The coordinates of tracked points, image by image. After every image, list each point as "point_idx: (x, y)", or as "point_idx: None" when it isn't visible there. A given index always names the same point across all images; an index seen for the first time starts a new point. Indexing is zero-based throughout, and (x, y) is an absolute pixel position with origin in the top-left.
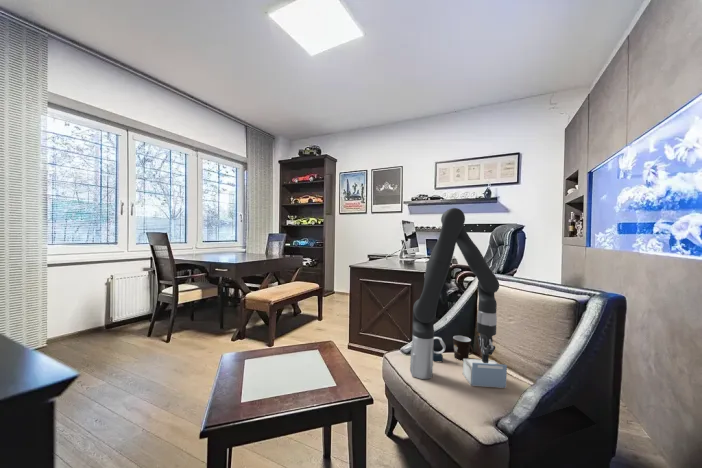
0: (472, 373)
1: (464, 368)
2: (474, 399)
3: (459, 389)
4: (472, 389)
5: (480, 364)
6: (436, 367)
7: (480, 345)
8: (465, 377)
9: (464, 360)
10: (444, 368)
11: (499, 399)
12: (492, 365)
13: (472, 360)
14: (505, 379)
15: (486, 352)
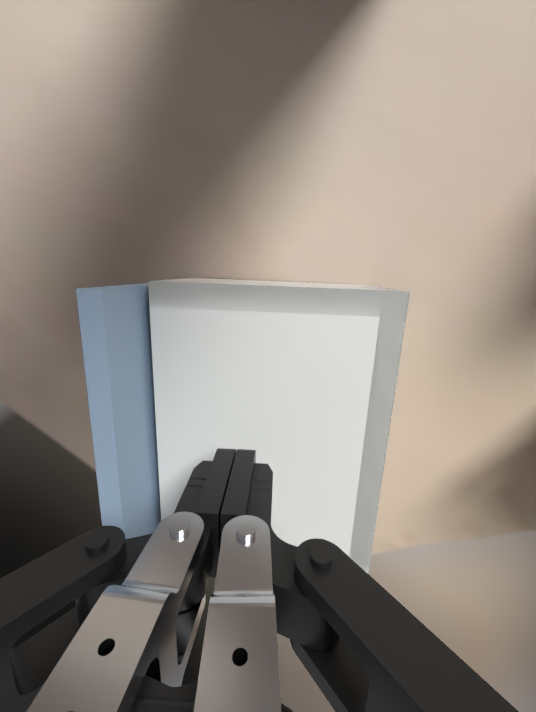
0: (145, 284)
1: (339, 285)
2: (21, 230)
3: (127, 167)
4: (146, 269)
5: (90, 377)
6: (486, 75)
7: (255, 610)
8: (300, 282)
9: (364, 289)
10: (463, 155)
11: (63, 388)
12: (106, 498)
13: (359, 379)
14: None
15: (35, 566)
